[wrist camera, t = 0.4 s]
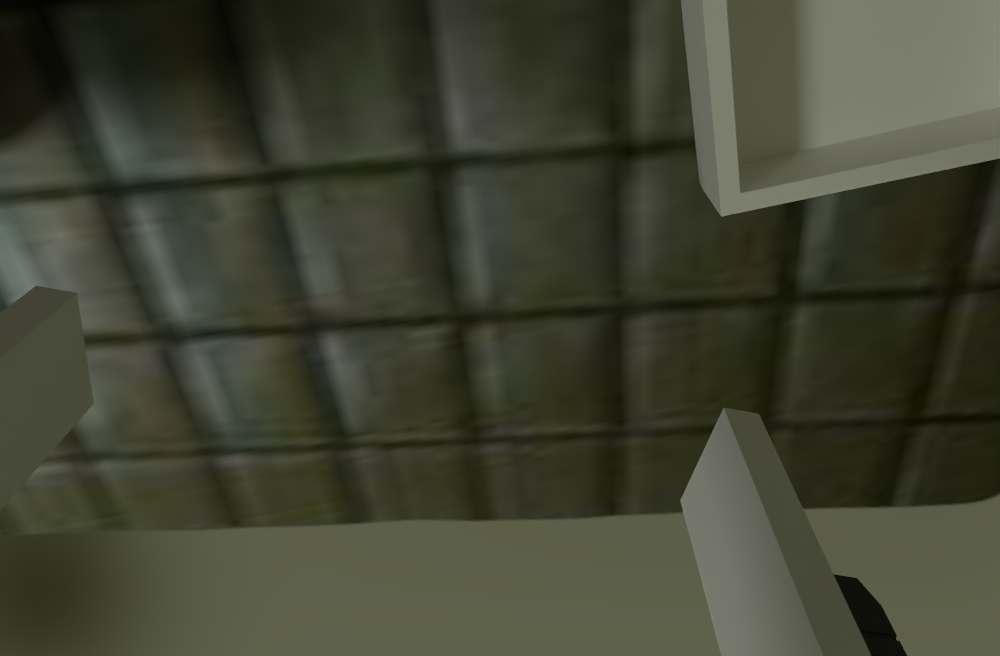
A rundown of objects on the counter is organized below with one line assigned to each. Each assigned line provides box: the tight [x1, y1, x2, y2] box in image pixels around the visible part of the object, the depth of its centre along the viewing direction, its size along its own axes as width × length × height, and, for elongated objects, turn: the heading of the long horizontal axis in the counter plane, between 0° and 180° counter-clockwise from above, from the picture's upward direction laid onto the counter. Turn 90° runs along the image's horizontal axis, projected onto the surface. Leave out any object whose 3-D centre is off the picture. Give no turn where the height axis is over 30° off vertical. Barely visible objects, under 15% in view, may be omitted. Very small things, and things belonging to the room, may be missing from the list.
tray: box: [681, 0, 1000, 216], centre depth 32 cm, size 14×16×5 cm
